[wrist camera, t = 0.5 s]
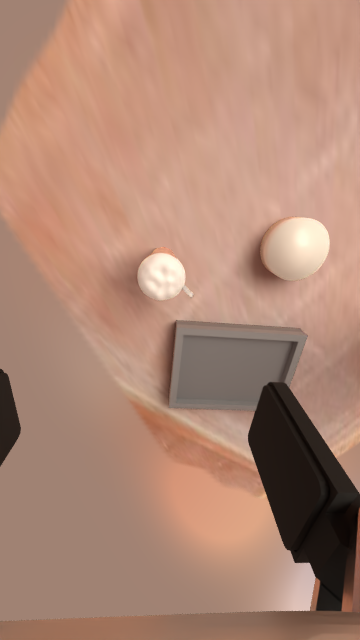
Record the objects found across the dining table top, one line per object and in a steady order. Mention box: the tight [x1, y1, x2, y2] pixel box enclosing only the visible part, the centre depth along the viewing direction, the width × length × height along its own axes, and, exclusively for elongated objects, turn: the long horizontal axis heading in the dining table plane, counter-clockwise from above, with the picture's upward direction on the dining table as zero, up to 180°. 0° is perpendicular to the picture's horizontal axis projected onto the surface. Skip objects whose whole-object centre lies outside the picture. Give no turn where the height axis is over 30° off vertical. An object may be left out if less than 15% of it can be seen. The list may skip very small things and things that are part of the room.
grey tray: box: [169, 320, 308, 411], centre depth 37 cm, size 18×14×2 cm
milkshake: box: [137, 247, 194, 301], centre depth 26 cm, size 4×5×10 cm
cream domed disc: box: [260, 217, 330, 281], centre depth 29 cm, size 7×7×3 cm
